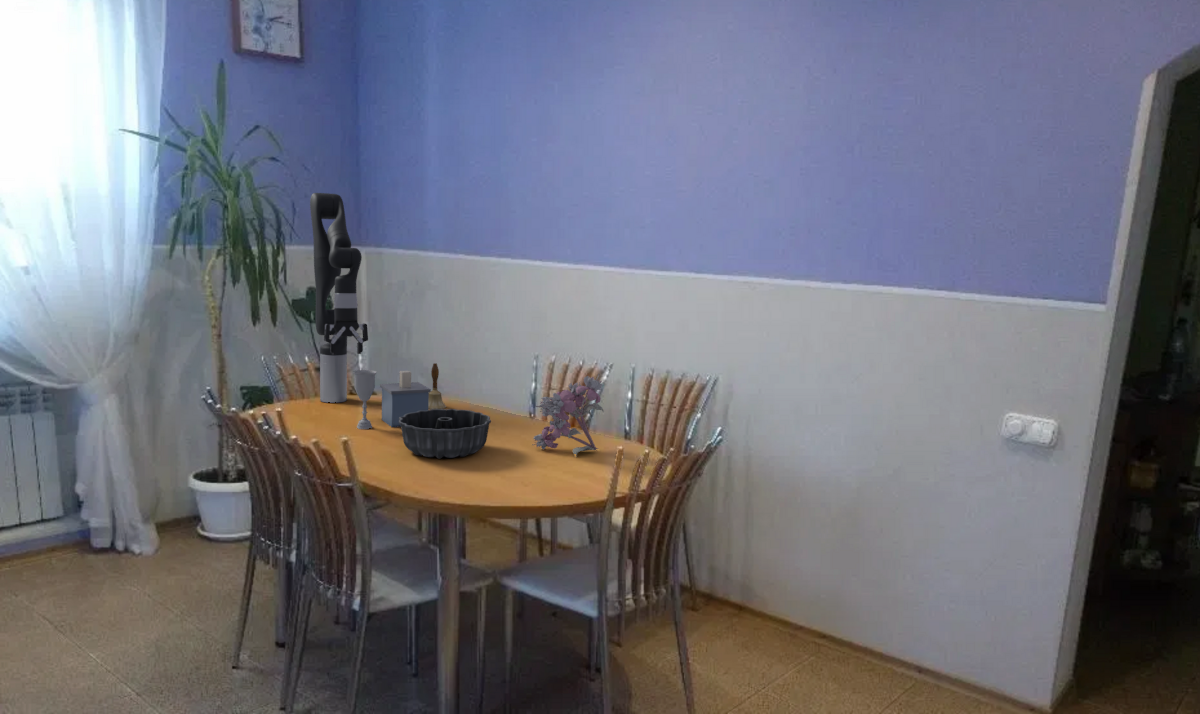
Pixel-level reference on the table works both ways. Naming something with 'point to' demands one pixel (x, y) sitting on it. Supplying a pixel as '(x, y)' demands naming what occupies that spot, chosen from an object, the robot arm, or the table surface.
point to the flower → (567, 404)
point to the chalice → (364, 392)
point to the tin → (402, 405)
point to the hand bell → (435, 391)
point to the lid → (405, 385)
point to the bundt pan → (444, 432)
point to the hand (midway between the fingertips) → (346, 354)
